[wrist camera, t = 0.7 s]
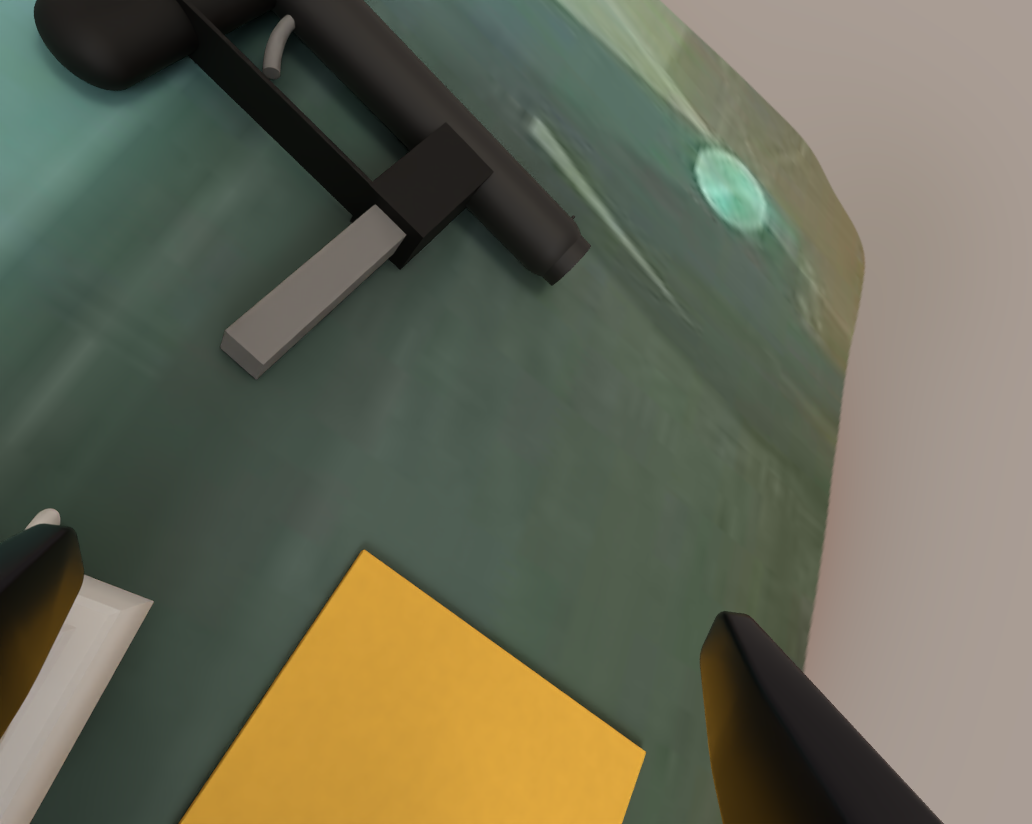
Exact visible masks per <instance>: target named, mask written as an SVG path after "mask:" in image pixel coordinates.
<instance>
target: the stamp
mask: <svg viewBox="0 0 1032 824" xmlns="http://www.w3.org/2000/svg"><path fill="white" fill-rule="evenodd" d="M43 523H46V524H53V525H60V515H59V513H58V511H56V510H55V509H45V510H43V511H41V512H39V513H38V514H37V515H36V516H35V517H34V519H33V520H32V521H31V522H30V524H29V525H28V526H27V527H26V529H28V528H30V527H32V526H35V525H37V524H43ZM26 529H25V530H26ZM0 543H1V542H0ZM153 602H154V601H152V600H149V599H146V598H144V597H141V596H139V595H136V594H133V593H131V592H128V591H126V590H123V589H120V588H118V587H115V586H113V585H110V584H107V583H105V582H102V581H100V580H97V579H94V578H92V577H89V576H87V575H84V579H83V584H82V587H81V589H80V591H79V593H78V595H77V597H76V599H75V601H74V604H73V606H72V608H71V610H70V612H69V614H68V616H67V618H66V620H65V622H64V624H63V626H62V628H61V630H60V632H59V634H58V636H57V638H56V640H55V642H54V644H53V646H52V648H51V650H50V652H49V654H48V657H47V659H46V661H45V663H44V665H43V667H42V669H41V671H40V673H39V675H38V677H37V679H36V681H35V682H34V684H33V686H32V688H31V690H30V692H29V694H28V695H27V697H26V699H25V700H24V702H23V704H22V705H21V707H20V709H19V710H18V712H17V714H16V715H15V717H14V718H13V720H12V722H11V723H10V725H9V726H8V728H7V730H6V731H5V733H4V734H3V736H2V737H1V739H0V824H30V822H31V820H32V818H33V817H34V815H35V813H36V811H37V810H38V808H39V806H40V804H41V802H42V801H43V799H44V797H45V795H46V793H47V792H48V790H49V788H50V786H51V785H52V783H53V781H54V779H55V777H56V776H57V774H58V772H59V770H60V768H61V767H62V765H63V763H64V761H65V760H66V758H67V756H68V754H69V752H70V751H71V749H72V747H73V745H74V743H75V742H76V740H77V738H78V736H79V734H80V733H81V731H82V729H83V727H84V726H85V724H86V722H87V720H88V718H89V717H90V715H91V713H92V711H93V709H94V708H95V706H96V704H97V702H98V701H99V699H100V697H101V695H102V693H103V692H104V690H105V688H106V686H107V684H108V683H109V681H110V679H111V677H112V676H113V674H114V672H115V670H116V668H117V667H118V665H119V663H120V661H121V659H122V658H123V656H124V654H125V652H126V650H127V649H128V647H129V645H130V643H131V642H132V640H133V638H134V636H135V634H136V633H137V631H138V629H139V627H140V625H141V624H142V622H143V620H144V618H145V617H146V615H147V613H148V611H149V609H150V608H151V606H152V604H153Z"/></svg>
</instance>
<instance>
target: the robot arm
mask: <svg viewBox="0 0 1032 824" xmlns="http://www.w3.org/2000/svg"><path fill="white" fill-rule="evenodd" d="M83 579H84V567H83V562H82V557H81V552H80V548H79V543H78V538H77V534H76V532H75V531H74V529H73V528H71V527H68V526H61V525H53V524H46V523H43V524H37V525H35V526H32V527H30V528H28V529H26V530H24V531H22V532H20V533H18V534H16V535H14V536H12V537H10V538H8V539H6V540H4V541H3V542H1V543H0V739H1V737H2V736H3V734H4V733H5V731H6V730H7V728H8V726H9V725H10V723H11V722H12V720H13V718H14V717H15V715H16V714H17V712H18V710H19V709H20V707H21V705H22V704H23V702H24V700H25V699H26V697H27V695H28V694H29V692H30V690H31V688H32V686H33V684H34V682H35V681H36V679H37V677H38V675H39V673H40V671H41V669H42V667H43V665H44V663H45V661H46V659H47V657H48V654H49V652H50V650H51V648H52V646H53V644H54V642H55V640H56V638H57V636H58V634H59V632H60V630H61V628H62V626H63V624H64V622H65V620H66V618H67V616H68V614H69V612H70V610H71V608H72V606H73V604H74V601H75V599H76V597H77V595H78V593H79V591H80V589H81V587H82V584H83ZM700 670H701V679H702V689H703V698H704V707H705V717H706V726H707V736H708V745H709V754H710V761H711V768H712V774H713V779H714V784H715V789H716V793H717V798H718V803H719V807H720V812H721V817H722V821H723V824H944V823H943V822H942V821H941V820H940V819H939V818H938V817H937V816H936V815H935V814H934V813H933V812H932V811H931V810H930V809H929V807H928V806H927V805H926V804H925V803H924V802H923V801H922V800H921V799H920V798H919V797H918V796H917V795H916V793H915V792H914V791H913V790H912V789H911V788H910V787H909V786H908V785H907V784H906V783H905V782H904V781H903V779H902V778H901V777H900V776H899V775H898V774H897V773H896V772H895V771H894V770H893V769H892V768H891V767H890V765H888V763H887V762H886V761H885V760H884V759H883V758H882V757H881V756H880V755H879V754H878V753H877V751H875V749H874V748H873V747H872V746H871V745H870V744H869V743H868V742H867V741H866V740H865V739H864V738H863V736H861V734H860V733H859V732H858V731H857V730H856V729H855V728H854V727H853V726H852V725H851V724H850V722H848V720H847V719H846V718H845V717H844V716H843V715H842V714H841V713H840V712H839V711H838V710H837V709H836V708H835V706H834V705H833V704H832V703H831V702H830V701H829V700H828V699H827V698H826V697H825V696H824V695H823V694H822V692H821V691H820V690H819V689H818V688H817V687H816V686H815V685H814V684H813V683H812V682H811V681H810V680H809V678H807V676H806V675H805V674H804V673H803V672H802V671H801V670H800V669H799V668H798V667H797V666H796V664H795V663H794V662H793V661H792V660H791V659H790V658H789V657H788V656H787V655H786V654H785V653H784V652H783V651H782V649H781V648H780V647H779V646H778V645H777V644H776V643H775V642H774V641H773V640H772V639H771V638H770V637H769V635H768V634H767V633H766V632H765V631H764V630H763V629H762V628H761V627H760V626H759V625H758V624H757V623H756V622H755V620H754V619H753V618H751V617H750V616H749V615H747V614H743V613H735V612H728V611H723V612H720V613H719V614H718V615H717V616H716V618H715V620H714V622H713V624H712V627H711V629H710V631H709V633H708V635H707V637H706V639H705V642H704V644H703V646H702V649H701V653H700Z"/></svg>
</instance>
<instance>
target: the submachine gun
mask: <svg viewBox="0 0 1032 824" xmlns="http://www.w3.org/2000/svg"><path fill="white" fill-rule="evenodd" d="M269 10H272V11H273V12H274V13H275V14H276V15H277V16H278V17H279V18H280V19H281V20H280V21H279V23H278V24H277V25H276V27H275V28H274V30H273V31H272V33H271V35H270V37H269V40H268V43H267V46H266V50H265V54H264V60H263V73H262V72H261V71H260V70H259V69H258V68H257V67H256V66H255V65H254V64H253V63H252V62H251V61H250V60H249V59H248V58H247V57H246V56H245V55H244V54H243V53H242V52H241V51H240V50H239V49H238V48H237V47H236V46H235V45H234V44H233V43H232V42H231V41H230V40H229V39H228V38H227V37H226V36H225V35H226V34H227V33H229V32H231V31H233V30H235V29H236V28H238V27H240V26H242V25H244V24H246V23H247V22H249V21H251V20H253V19H255V18H257V17H258V16H260V15H262V14H264V13H266V12H267V11H269ZM34 19H35V23H36V27H37V29H38V32H39V34H40V36H41V38H42V40H43V42H44V43H45V45H46V46H47V48H48V49H49V50H50V52H51V53H52V54H53V55H54V56H55V58H56V59H57V60H58V61H59V62H60V63H61V64H62V65H63V66H64V67H66V68H67V69H68V70H69V71H70V72H72V73H73V74H74V75H76V76H77V77H79V78H80V79H82V80H84V81H85V82H87V83H89V84H91V85H94V86H96V87H99V88H102V89H106V90H113V91H118V90H124V89H127V88H129V87H131V86H133V85H135V84H136V83H138V82H140V81H142V80H144V79H145V78H147V77H149V76H151V75H153V74H155V73H156V72H158V71H160V70H162V69H164V68H165V67H167V66H169V65H171V64H173V63H175V62H176V61H178V60H180V59H182V58H184V57H186V56H187V55H188V56H189V57H190V58H191V59H192V60H193V61H194V62H195V63H196V64H197V65H198V66H199V67H200V68H201V69H202V70H203V71H204V72H205V73H206V74H207V75H208V76H209V77H210V78H211V79H213V80H214V81H215V82H216V83H217V84H218V85H219V86H220V87H221V88H222V89H223V90H224V91H225V92H226V93H227V94H228V95H229V96H230V97H231V98H232V99H233V100H234V101H235V102H236V103H237V104H238V105H239V106H240V107H241V108H242V109H243V110H244V111H246V112H247V113H248V114H249V115H250V116H251V117H252V118H253V119H254V120H255V121H256V122H257V123H258V124H259V125H260V126H261V127H262V128H263V129H264V130H265V131H266V132H267V133H268V134H269V135H270V136H271V137H272V138H273V139H274V140H275V141H276V142H277V143H279V144H280V145H281V146H282V147H283V148H284V149H285V150H286V151H287V152H288V153H289V154H290V155H291V156H292V157H293V158H294V159H295V160H296V161H297V162H298V163H299V164H300V165H301V166H302V167H303V168H304V169H305V170H306V171H307V172H308V173H309V174H310V175H312V176H313V177H314V178H315V179H316V180H317V181H318V182H319V183H320V184H321V185H322V186H323V187H324V188H325V189H326V190H327V191H328V192H329V193H330V194H331V195H332V196H333V197H334V198H335V199H336V200H337V201H338V202H339V203H340V204H341V205H342V206H343V207H345V208H346V209H347V210H348V211H349V212H350V213H351V214H352V215H353V217H352V219H351V222H352V224H351V225H350V226H349V227H347V228H346V229H345V230H344V231H343V232H341V233H340V234H339V235H338V236H337V237H335V238H334V239H333V240H332V241H331V242H329V243H328V244H327V245H326V246H325V247H324V248H322V249H321V250H320V251H319V252H318V253H316V254H315V255H314V256H313V257H312V258H310V259H309V260H308V261H307V262H306V263H304V264H303V265H302V266H301V267H300V268H299V269H297V270H296V271H295V272H294V273H293V274H291V275H290V276H289V277H288V278H287V279H285V280H284V281H283V282H282V283H281V284H280V285H278V286H277V287H276V288H275V289H274V290H272V291H271V292H270V293H269V294H268V295H266V296H265V297H264V298H263V299H262V300H260V301H259V302H258V303H257V304H256V305H255V306H253V307H252V308H251V309H250V310H249V311H247V312H246V313H245V314H244V315H243V316H241V317H240V318H239V319H238V320H237V321H235V322H234V323H233V324H232V325H231V326H230V327H228V328H227V329H226V330H225V332H224V335H223V339H222V342H221V346H220V348H221V349H222V350H223V351H224V352H226V353H227V354H228V355H229V356H230V357H231V358H232V359H233V360H235V361H236V362H237V363H238V364H239V365H240V366H241V367H243V368H244V369H245V370H246V371H247V372H248V373H249V374H250V375H252V376H253V377H254V378H255V379H256V380H257V379H258V378H259V377H260V376H261V375H262V374H263V373H264V372H265V371H266V370H267V369H268V368H270V367H271V366H272V365H273V364H274V363H275V362H276V361H277V360H278V359H279V358H280V357H282V356H283V355H284V354H285V353H286V352H287V351H288V350H289V349H290V348H291V347H292V346H294V345H295V344H296V343H297V342H298V341H299V340H300V339H301V338H302V337H303V336H304V335H306V334H307V333H308V332H309V331H310V330H311V329H312V328H313V327H314V326H315V325H316V324H318V323H319V322H320V321H321V320H322V319H323V318H324V317H325V316H326V315H327V314H328V313H330V312H331V311H332V310H333V309H334V308H335V307H336V306H337V305H338V304H339V303H340V302H342V301H343V300H344V299H345V298H346V297H347V296H348V295H349V294H350V293H351V292H352V291H354V290H355V289H356V288H357V287H358V286H359V285H360V284H361V283H362V282H363V281H364V280H366V279H367V278H368V277H369V276H370V275H371V274H372V273H373V272H374V271H375V270H376V269H377V268H379V267H380V266H381V265H382V264H383V263H384V262H385V261H386V260H387V259H388V258H389V259H390V260H391V261H392V262H393V263H394V264H395V265H396V266H397V267H398V268H399V269H401V268H402V267H404V266H405V265H406V264H407V263H408V262H409V261H410V260H411V259H412V258H413V257H414V256H415V255H416V254H417V253H418V252H419V251H420V250H422V249H423V248H424V247H425V246H426V245H427V244H428V243H429V242H430V241H431V240H432V239H433V238H434V237H435V236H436V235H437V234H438V233H440V232H441V231H442V230H443V229H444V228H445V227H446V226H447V225H448V224H449V223H450V222H451V221H452V220H453V219H454V218H455V217H456V216H458V215H459V214H460V213H461V212H462V211H463V210H464V209H465V208H466V207H467V208H468V209H469V210H470V211H471V212H472V213H473V214H474V215H475V216H476V217H477V218H478V219H479V220H480V222H481V223H482V224H483V225H484V226H485V227H486V228H487V229H488V230H489V231H490V232H491V233H492V234H493V235H494V236H495V237H496V238H497V239H498V240H499V241H500V242H501V243H502V244H503V245H504V246H505V247H506V248H507V249H508V250H509V251H510V252H511V253H512V254H513V255H514V256H515V257H516V258H517V259H518V260H519V261H520V262H521V263H522V264H523V265H524V266H525V267H526V268H527V269H528V270H529V271H531V272H533V273H534V274H537V275H539V276H542V277H543V278H544V279H545V280H546V281H547V282H548V283H549V284H550V285H551V286H552V285H554V284H555V283H556V282H558V281H559V280H560V279H561V278H562V277H563V276H564V275H565V274H566V273H567V272H568V271H570V270H571V269H572V268H573V267H574V265H575V264H576V263H577V262H578V261H579V260H580V259H581V258H582V257H583V256H584V255H585V254H586V252H587V251H588V250H589V249H590V247H591V245H590V244H589V243H588V242H587V241H586V240H585V239H584V238H583V237H582V236H581V233H580V230H579V228H578V226H577V224H576V223H575V222H574V220H573V219H574V218H575V216H572V217H570V216H569V215H568V214H567V213H566V212H565V211H564V210H563V209H562V208H561V207H560V206H559V205H558V204H557V202H556V201H555V200H554V199H553V198H552V197H551V196H550V195H549V194H548V193H547V192H546V191H545V190H544V189H543V188H542V187H541V186H540V185H539V184H538V183H537V182H536V180H535V179H534V178H533V177H532V176H531V175H530V174H529V173H528V172H527V171H526V170H525V169H524V168H523V167H522V166H521V165H520V164H519V163H518V162H517V161H516V160H515V159H514V157H513V156H512V155H511V154H510V153H509V152H508V151H507V150H506V149H505V148H504V147H503V146H502V145H501V144H500V143H499V142H498V141H497V140H496V139H495V138H494V137H493V135H492V134H491V133H490V132H489V131H488V130H487V129H486V128H485V127H484V126H483V125H482V124H481V123H480V122H479V121H478V120H477V119H476V118H475V117H474V116H473V115H472V114H471V112H470V111H469V110H468V109H467V108H466V107H465V106H464V105H463V104H462V103H461V102H460V101H459V100H458V99H457V98H456V97H455V96H454V95H453V94H452V93H451V92H450V90H449V89H448V88H447V87H446V86H445V85H444V84H443V83H442V82H441V81H440V80H439V79H438V78H437V77H436V76H435V75H434V74H433V73H432V72H431V71H430V70H429V68H428V67H427V66H426V65H425V64H424V63H423V62H422V61H421V60H420V59H419V58H418V57H417V56H416V55H415V54H414V53H413V52H412V51H411V50H410V49H409V48H408V47H407V45H406V44H405V43H404V42H403V41H402V40H401V39H400V38H399V37H398V36H397V35H396V34H395V33H394V32H393V31H392V30H391V29H390V28H389V27H388V26H387V25H386V23H385V22H384V21H383V20H382V19H381V18H380V17H379V16H378V15H377V14H376V13H375V12H374V11H373V10H372V9H371V8H370V7H369V6H368V5H367V4H366V3H365V2H364V0H37V1H36V3H35V6H34ZM292 31H293V32H294V33H295V34H296V35H297V36H298V37H299V38H300V39H301V40H302V41H303V42H304V43H305V44H306V45H307V47H308V48H309V49H310V50H311V51H312V52H313V53H314V54H315V55H316V56H317V57H318V58H319V59H320V60H321V61H322V62H323V63H324V64H325V65H326V66H327V67H328V68H329V69H330V70H331V71H332V72H333V73H334V74H335V75H336V76H337V77H338V78H339V79H340V80H341V81H342V82H343V83H344V84H345V85H346V86H347V87H348V88H349V89H350V90H351V91H352V92H353V93H354V94H355V95H356V96H357V97H358V98H359V99H360V100H361V101H362V102H363V103H364V104H365V105H366V106H367V107H368V108H369V109H370V110H371V111H372V112H373V113H374V114H375V115H376V116H377V117H378V118H379V119H380V120H381V121H382V122H383V123H384V124H385V125H386V126H387V127H388V128H389V129H390V130H391V131H392V132H393V133H394V135H395V136H396V137H397V138H398V139H399V140H400V141H401V142H402V143H403V144H404V145H405V146H406V147H407V148H408V149H409V150H410V152H408V153H407V154H406V155H405V156H404V157H402V158H401V159H400V160H399V161H397V162H396V163H395V164H394V165H392V166H391V167H390V168H389V169H388V170H386V171H385V172H384V173H383V174H381V175H380V176H379V177H378V178H376V179H375V180H374V181H373V182H372V181H371V180H370V179H369V178H368V177H367V176H366V175H365V174H364V173H363V172H362V171H361V170H360V169H359V168H358V167H357V166H356V165H355V164H354V163H353V162H352V161H351V160H350V159H349V158H348V157H347V156H346V155H345V154H344V153H343V152H342V151H341V150H340V149H339V148H338V147H337V146H336V145H335V144H334V143H333V142H332V141H331V140H330V139H329V138H328V137H327V136H326V135H325V134H324V133H323V132H322V131H321V130H320V129H319V128H318V127H317V126H316V125H315V124H314V123H313V122H312V121H311V120H310V119H309V118H308V117H307V116H306V115H305V114H304V113H303V112H302V111H301V110H300V109H299V108H298V107H297V106H296V105H294V104H293V103H292V102H291V101H290V100H289V99H288V98H287V97H286V96H285V95H284V94H283V93H282V92H281V91H280V90H279V89H278V88H277V87H276V86H275V85H274V84H273V83H272V82H271V81H270V80H269V79H278V78H279V77H280V69H281V60H282V54H283V50H284V47H285V44H286V41H287V39H288V37H289V35H290V34H291V32H292ZM268 78H269V79H268Z"/></svg>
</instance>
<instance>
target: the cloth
mask: <svg viewBox="0 0 1032 824" xmlns="http://www.w3.org/2000/svg"><path fill="white" fill-rule="evenodd" d="M645 754H646V752H645V751H644V750H643V749H641V748H640V747H638V746H637V745H636V744H634V743H633V742H631V741H630V740H629V739H627V738H626V737H625V736H623V735H622V734H620V733H619V732H618V731H616V730H615V729H613V728H612V727H611V726H609V725H608V724H606V723H605V722H604V721H602V720H601V719H599V718H598V717H597V716H595V715H594V714H593V713H591V712H590V711H588V710H587V709H586V708H584V707H583V706H581V705H580V704H579V703H577V702H576V701H574V700H573V699H572V698H570V697H569V696H568V695H566V694H565V693H563V692H562V691H561V690H559V689H558V688H556V687H555V686H554V685H552V684H551V683H549V682H548V681H547V680H545V679H544V678H542V677H541V676H540V675H538V674H537V673H536V672H534V671H533V670H531V669H530V668H529V667H527V666H526V665H524V664H523V663H522V662H520V661H519V660H517V659H516V658H515V657H513V656H512V655H511V654H509V653H508V652H506V651H505V650H504V649H502V648H501V647H499V646H498V645H497V644H495V643H494V642H492V641H491V640H490V639H488V638H487V637H485V636H484V635H483V634H481V633H480V632H479V631H477V630H476V629H474V628H473V627H472V626H470V625H469V624H467V623H466V622H465V621H463V620H462V619H460V618H459V617H458V616H456V615H455V614H454V613H452V612H451V611H449V610H448V609H447V608H445V607H444V606H442V605H441V604H440V603H438V602H437V601H435V600H434V599H433V598H431V597H430V596H428V595H427V594H426V593H424V592H423V591H422V590H420V589H419V588H417V587H416V586H415V585H413V584H412V583H410V582H409V581H408V580H406V579H405V578H403V577H402V576H401V575H399V574H398V573H397V572H395V571H394V570H392V569H391V568H390V567H388V566H387V565H385V564H384V563H383V562H381V561H380V560H378V559H377V558H376V557H374V556H373V555H372V554H370V553H369V552H367V551H366V550H362V551H361V552H360V554H359V555H358V557H357V558H356V560H355V561H354V563H353V564H352V566H351V567H350V569H349V570H348V572H347V573H346V575H345V576H344V578H343V579H342V581H341V582H340V584H339V585H338V587H337V588H336V590H335V591H334V593H333V594H332V595H331V597H330V598H329V600H328V601H327V603H326V604H325V606H324V607H323V609H322V610H321V612H320V613H319V615H318V616H317V618H316V619H315V621H314V622H313V624H312V625H311V627H310V628H309V630H308V631H307V633H306V634H305V636H304V637H303V639H302V640H301V642H300V643H299V645H298V646H297V648H296V649H295V651H294V652H293V654H292V655H291V657H290V658H289V660H288V661H287V662H286V664H285V665H284V667H283V668H282V670H281V671H280V673H279V674H278V676H277V677H276V679H275V680H274V682H273V683H272V685H271V686H270V688H269V689H268V691H267V692H266V694H265V695H264V697H263V698H262V700H261V701H260V703H259V704H258V706H257V707H256V709H255V710H254V712H253V713H252V715H251V716H250V718H249V719H248V721H247V722H246V724H245V725H244V726H243V728H242V729H241V731H240V732H239V734H238V735H237V737H236V738H235V740H234V741H233V743H232V744H231V746H230V747H229V749H228V750H227V752H226V753H225V755H224V756H223V758H222V759H221V761H220V762H219V764H218V765H217V767H216V768H215V770H214V771H213V773H212V774H211V776H210V777H209V779H208V780H207V782H206V783H205V785H204V786H203V788H202V789H201V790H200V792H199V793H198V795H197V796H196V798H195V799H194V801H193V802H192V804H191V805H190V807H189V808H188V810H187V811H186V813H185V814H184V816H183V817H182V819H181V820H180V822H179V823H178V824H622V821H623V818H624V815H625V812H626V810H627V807H628V804H629V801H630V798H631V795H632V792H633V789H634V786H635V783H636V780H637V777H638V774H639V771H640V769H641V766H642V763H643V760H644V757H645Z"/></svg>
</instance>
